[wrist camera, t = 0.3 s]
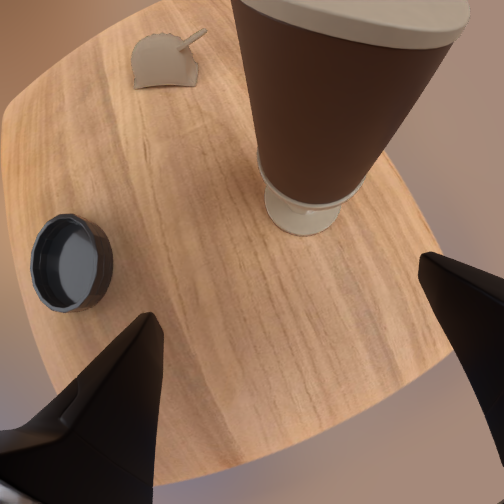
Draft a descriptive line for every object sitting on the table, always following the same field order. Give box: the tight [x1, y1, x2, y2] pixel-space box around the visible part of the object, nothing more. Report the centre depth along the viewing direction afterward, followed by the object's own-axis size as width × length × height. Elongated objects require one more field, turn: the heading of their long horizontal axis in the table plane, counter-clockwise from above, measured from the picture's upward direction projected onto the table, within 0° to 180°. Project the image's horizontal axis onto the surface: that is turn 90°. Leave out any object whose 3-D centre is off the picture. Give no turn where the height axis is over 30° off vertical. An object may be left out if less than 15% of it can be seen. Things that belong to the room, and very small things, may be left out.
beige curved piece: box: [131, 28, 207, 89], centre depth 22 cm, size 4×8×5 cm, turn 79°
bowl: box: [30, 214, 113, 313], centre depth 22 cm, size 8×8×2 cm
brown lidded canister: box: [231, 0, 470, 204], centre depth 9 cm, size 6×6×11 cm
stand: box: [257, 146, 366, 236], centre depth 18 cm, size 6×6×8 cm
